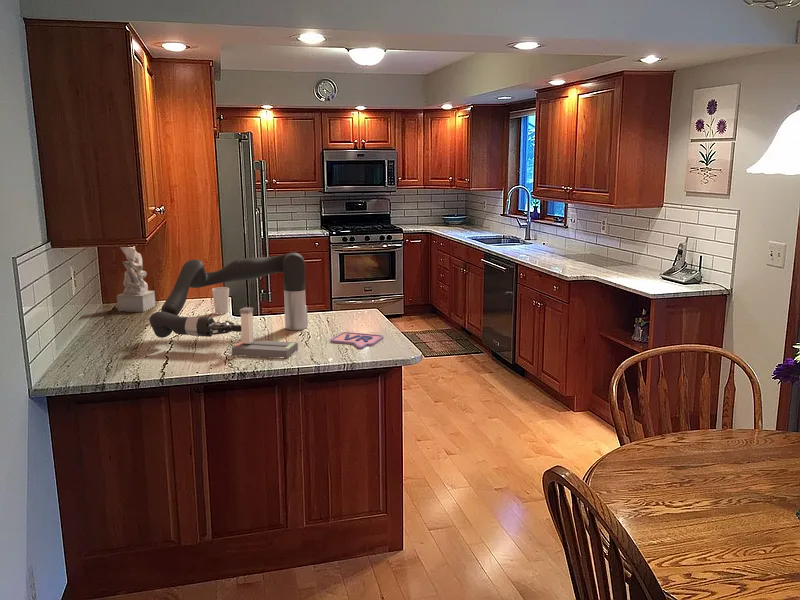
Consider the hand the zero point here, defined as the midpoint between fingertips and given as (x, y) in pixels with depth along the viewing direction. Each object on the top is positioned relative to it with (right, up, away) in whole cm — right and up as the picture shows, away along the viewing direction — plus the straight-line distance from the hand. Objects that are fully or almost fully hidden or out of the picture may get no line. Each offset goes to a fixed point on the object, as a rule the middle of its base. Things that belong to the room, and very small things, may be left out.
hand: (242, 328), depth 256 cm
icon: (+42, -7, +18) cm, 46 cm away
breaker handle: (+2, -5, +1) cm, 6 cm away
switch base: (+9, -9, +1) cm, 13 cm away
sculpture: (-71, +6, +77) cm, 105 cm away
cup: (-26, +5, +68) cm, 73 cm away
